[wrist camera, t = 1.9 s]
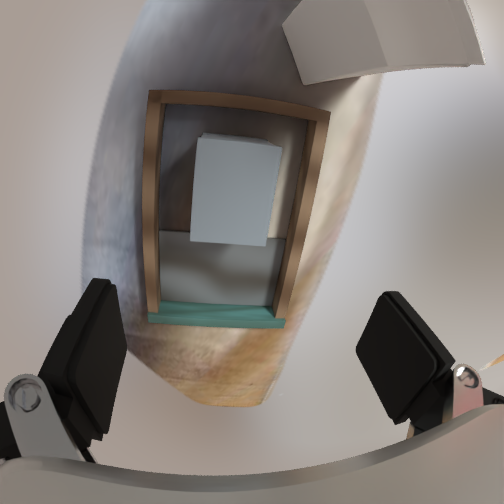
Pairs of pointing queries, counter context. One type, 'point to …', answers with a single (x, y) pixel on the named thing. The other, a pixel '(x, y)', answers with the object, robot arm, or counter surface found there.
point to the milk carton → (380, 37)
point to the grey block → (233, 189)
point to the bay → (219, 254)
